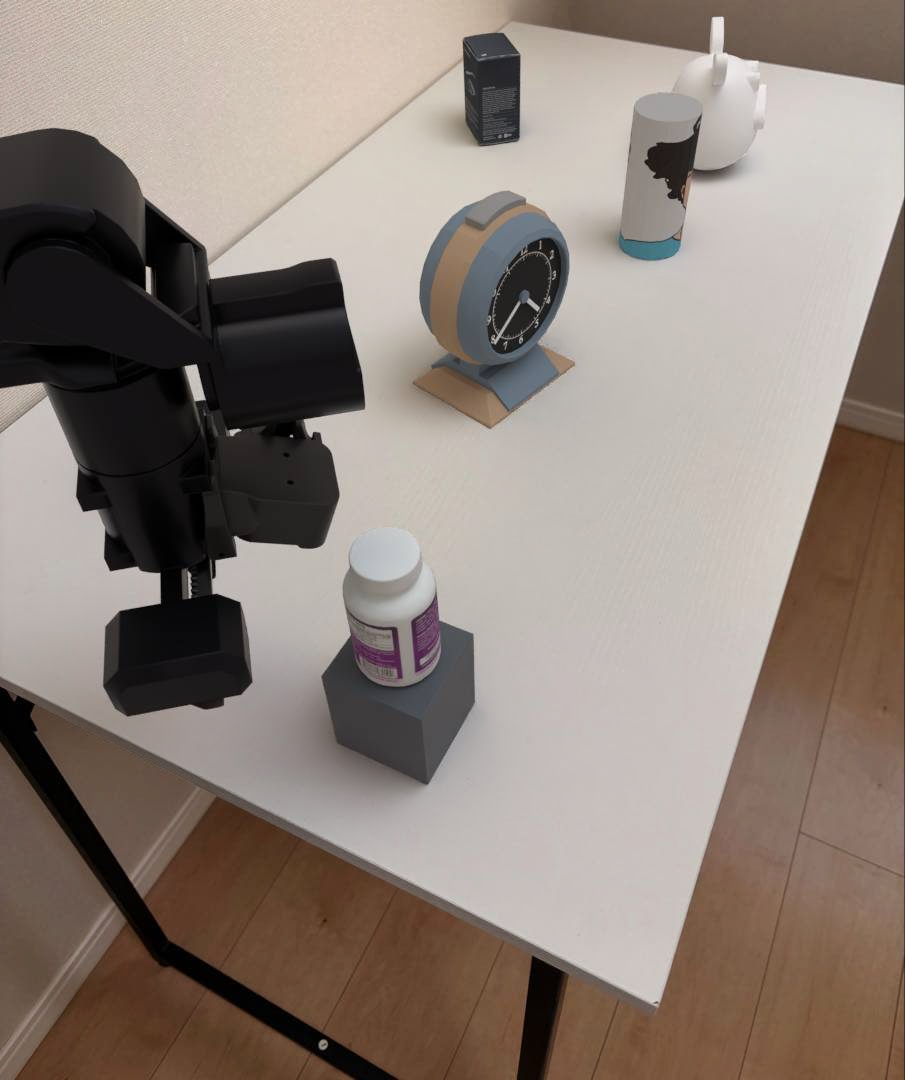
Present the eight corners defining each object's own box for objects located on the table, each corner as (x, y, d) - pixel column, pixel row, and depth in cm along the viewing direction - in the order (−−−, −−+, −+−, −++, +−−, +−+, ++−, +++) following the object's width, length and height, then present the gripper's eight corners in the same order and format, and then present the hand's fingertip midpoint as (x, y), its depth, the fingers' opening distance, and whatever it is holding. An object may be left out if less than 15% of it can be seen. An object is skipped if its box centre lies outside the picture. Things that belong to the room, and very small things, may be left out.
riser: (336, 742, 63) (320, 676, 57) (388, 665, 67) (378, 595, 62) (427, 785, 61) (421, 720, 55) (475, 702, 65) (474, 633, 59)
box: (520, 141, 121) (522, 53, 113) (478, 147, 121) (477, 59, 113) (504, 115, 127) (505, 29, 119) (463, 120, 126) (461, 34, 118)
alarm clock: (483, 434, 84) (482, 257, 71) (405, 388, 88) (391, 214, 75) (581, 359, 91) (597, 185, 77) (504, 320, 95) (507, 150, 82)
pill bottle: (419, 608, 61) (410, 504, 54) (455, 669, 57) (451, 567, 50) (341, 639, 59) (321, 536, 52) (374, 703, 56) (357, 603, 49)
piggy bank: (770, 182, 112) (801, 49, 101) (676, 192, 111) (696, 59, 100) (734, 136, 121) (759, 9, 110) (645, 145, 120) (661, 17, 109)
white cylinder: (688, 256, 102) (712, 118, 91) (628, 263, 102) (645, 124, 90) (669, 224, 107) (690, 89, 95) (611, 231, 106) (626, 95, 95)
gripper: (342, 553, 37) (375, 751, 49) (294, 294, 49) (329, 501, 61) (51, 604, 36) (156, 796, 47) (76, 324, 48) (155, 531, 60)
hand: (210, 638), depth 54 cm, fingers open, 9 cm apart
